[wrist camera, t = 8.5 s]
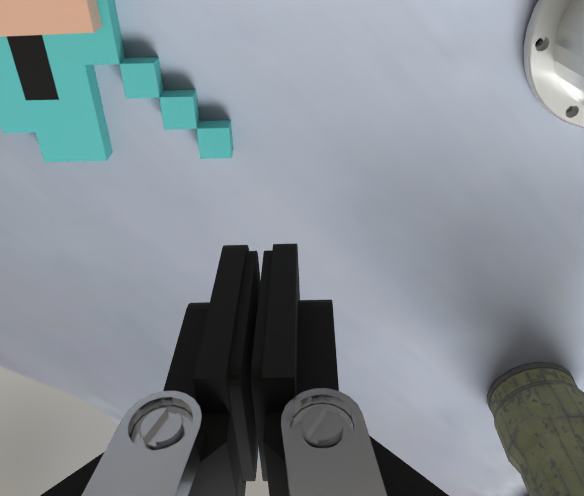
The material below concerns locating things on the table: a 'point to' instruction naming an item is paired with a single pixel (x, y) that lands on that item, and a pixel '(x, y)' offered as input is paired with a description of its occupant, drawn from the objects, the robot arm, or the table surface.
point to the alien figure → (88, 93)
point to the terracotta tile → (48, 17)
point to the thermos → (541, 427)
